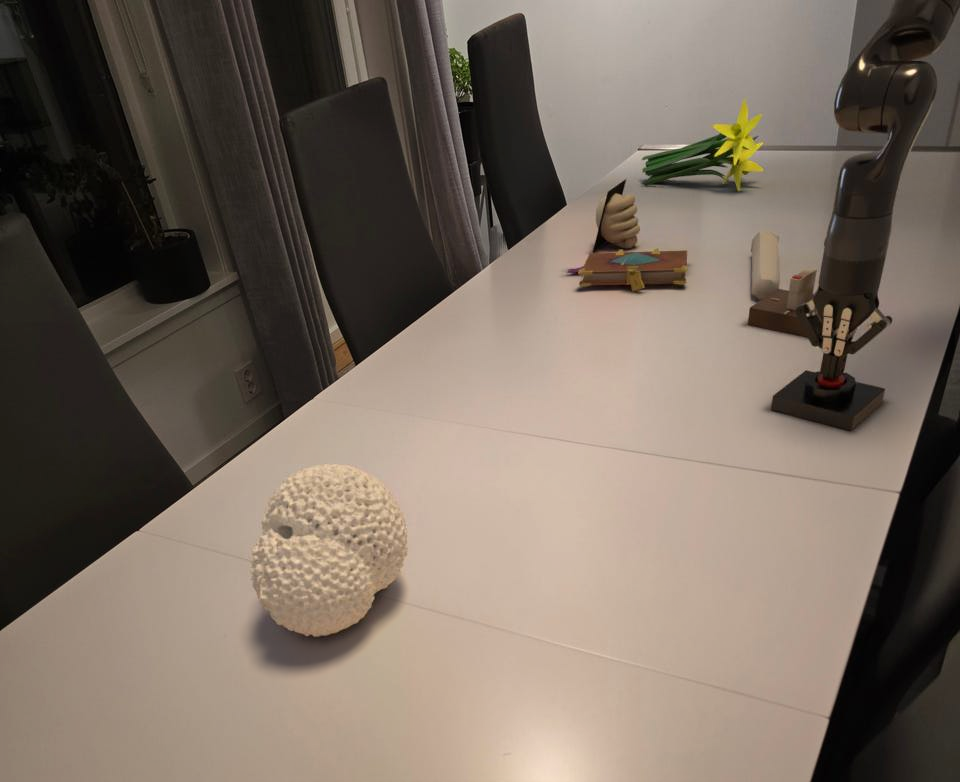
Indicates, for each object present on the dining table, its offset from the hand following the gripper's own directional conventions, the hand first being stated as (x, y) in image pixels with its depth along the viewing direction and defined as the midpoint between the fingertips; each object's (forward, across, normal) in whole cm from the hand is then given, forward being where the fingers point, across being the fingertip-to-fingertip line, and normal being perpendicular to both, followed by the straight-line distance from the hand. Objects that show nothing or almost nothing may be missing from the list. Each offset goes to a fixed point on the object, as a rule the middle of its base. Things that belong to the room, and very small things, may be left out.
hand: (830, 377), depth 118 cm
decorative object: (+5, +70, -46) cm, 84 cm away
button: (+2, 0, 0) cm, 2 cm away
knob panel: (+4, +18, -26) cm, 32 cm away
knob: (+1, +18, -26) cm, 32 cm away
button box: (+4, 0, 0) cm, 4 cm away
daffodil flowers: (+4, +79, -92) cm, 121 cm away
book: (+5, +57, -30) cm, 64 cm away
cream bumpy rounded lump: (+5, +23, +72) cm, 76 cm away
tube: (+4, +33, -42) cm, 54 cm away
